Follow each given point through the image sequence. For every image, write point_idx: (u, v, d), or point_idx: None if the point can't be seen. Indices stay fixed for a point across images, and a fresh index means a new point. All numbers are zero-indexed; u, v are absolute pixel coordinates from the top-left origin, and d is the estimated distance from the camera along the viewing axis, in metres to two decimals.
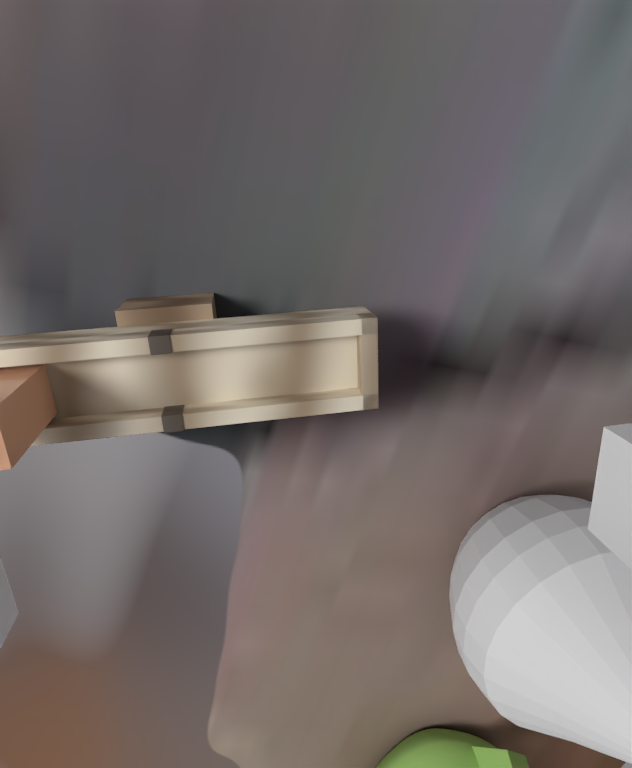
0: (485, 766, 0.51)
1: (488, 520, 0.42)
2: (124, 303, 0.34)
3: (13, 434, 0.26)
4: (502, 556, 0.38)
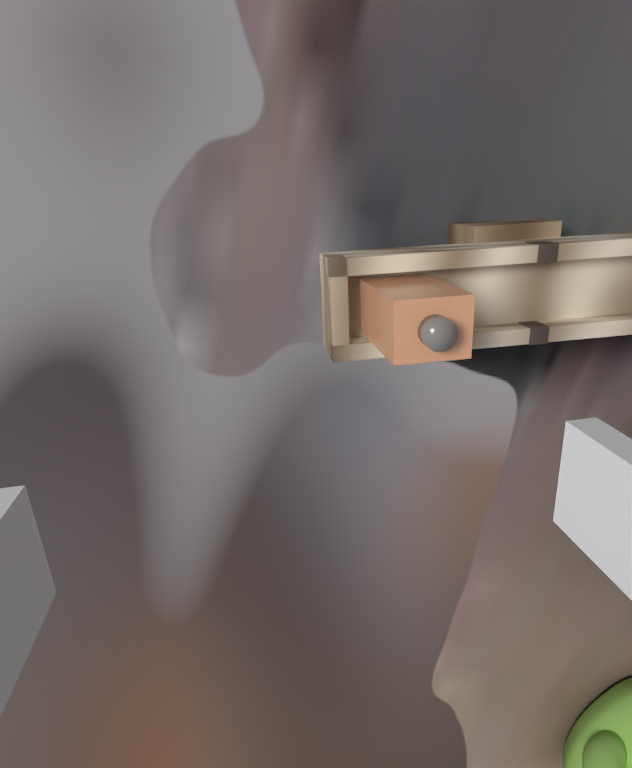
0: None
1: None
2: (460, 224, 0.35)
3: None
4: None
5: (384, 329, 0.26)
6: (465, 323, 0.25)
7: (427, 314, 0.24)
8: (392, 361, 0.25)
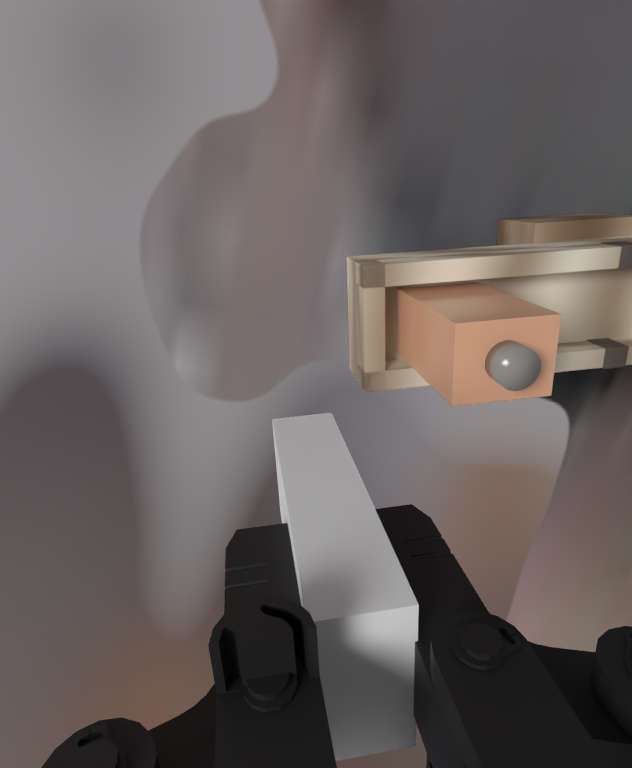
0: None
1: None
2: (513, 220, 0.29)
3: None
4: None
5: (437, 357, 0.20)
6: (546, 351, 0.19)
7: (498, 341, 0.19)
8: (450, 400, 0.19)
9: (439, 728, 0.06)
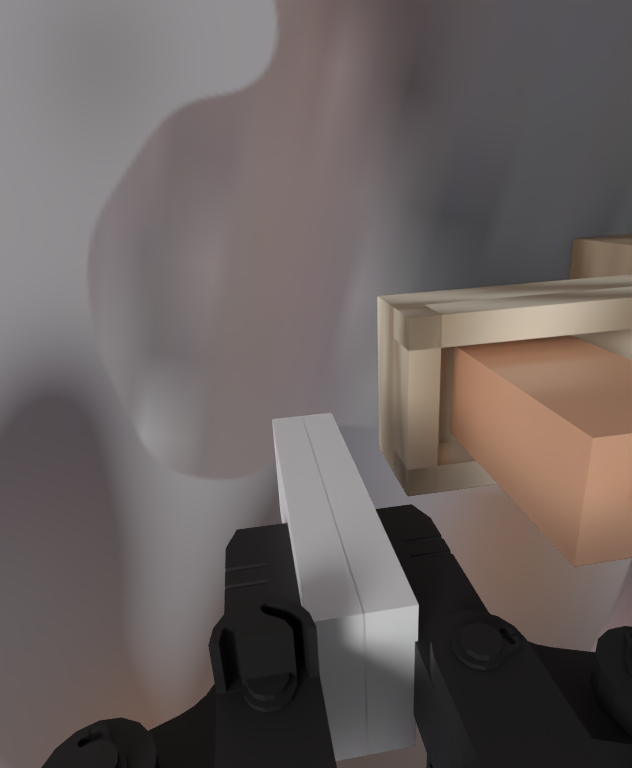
0: None
1: None
2: (599, 241, 0.21)
3: None
4: None
5: (539, 474, 0.12)
6: None
7: None
8: (570, 555, 0.12)
9: (439, 728, 0.06)
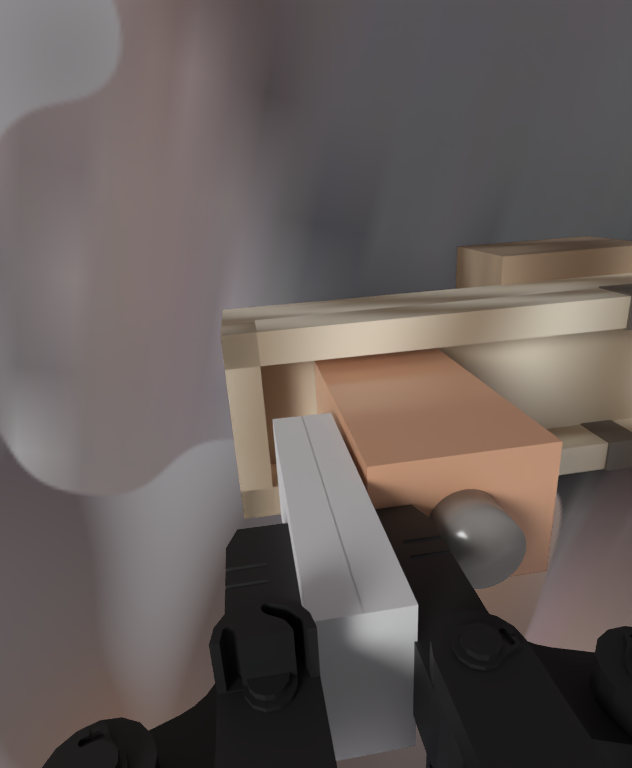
0: None
1: None
2: (476, 249, 0.21)
3: None
4: None
5: None
6: (537, 502, 0.11)
7: (449, 492, 0.10)
8: None
9: (439, 728, 0.06)
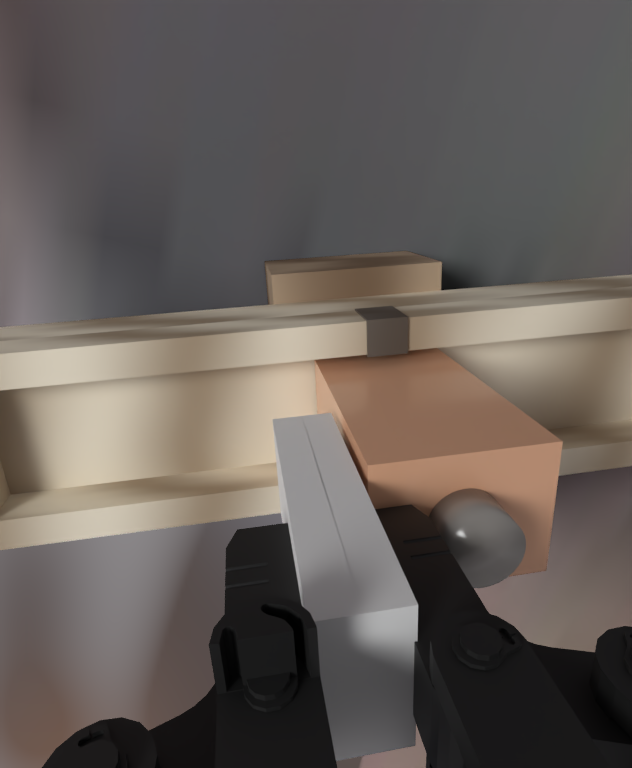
0: None
1: None
2: (270, 265, 0.20)
3: None
4: None
5: None
6: (537, 502, 0.11)
7: (450, 491, 0.10)
8: None
9: (439, 728, 0.06)
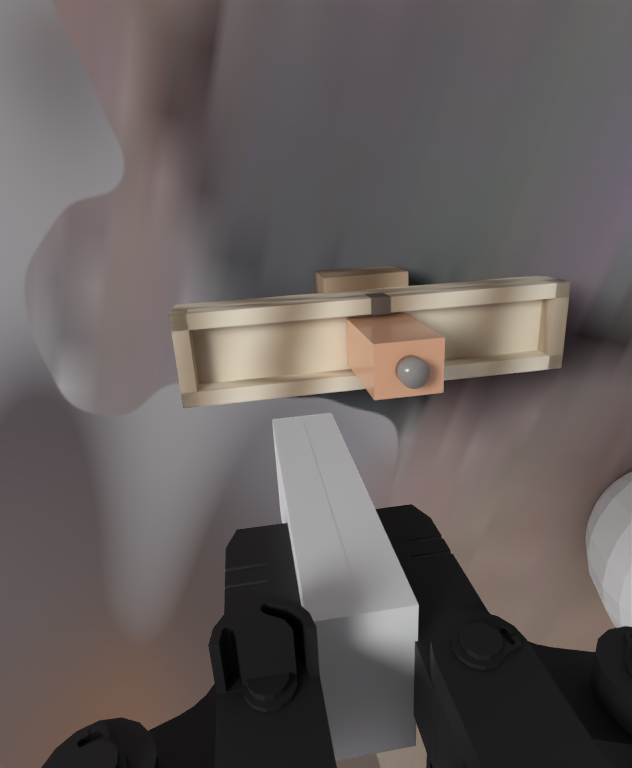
0: None
1: (629, 483, 0.45)
2: (319, 273, 0.37)
3: None
4: None
5: (366, 367, 0.29)
6: (437, 362, 0.28)
7: (403, 355, 0.28)
8: (373, 396, 0.28)
9: (439, 728, 0.06)
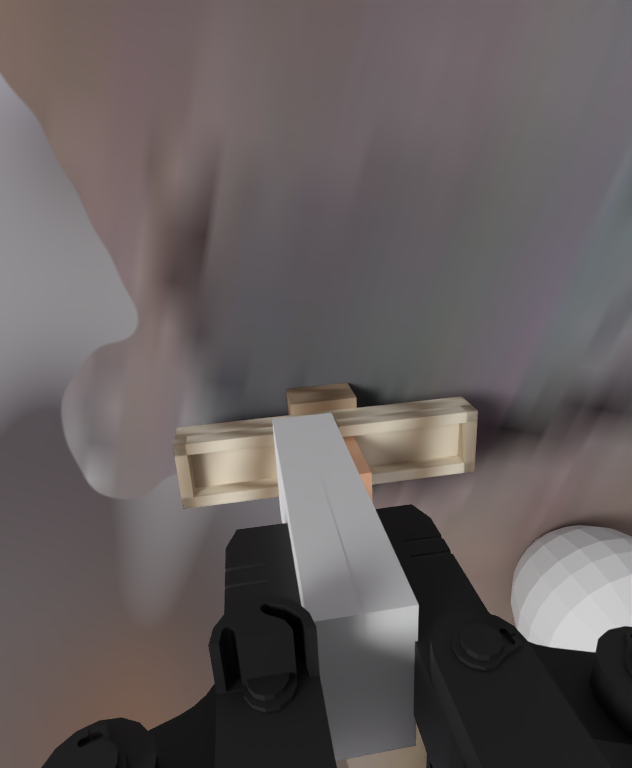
0: None
1: (542, 546, 0.56)
2: (289, 394, 0.48)
3: None
4: (557, 575, 0.51)
5: None
6: (366, 489, 0.39)
7: None
8: None
9: (439, 728, 0.06)
